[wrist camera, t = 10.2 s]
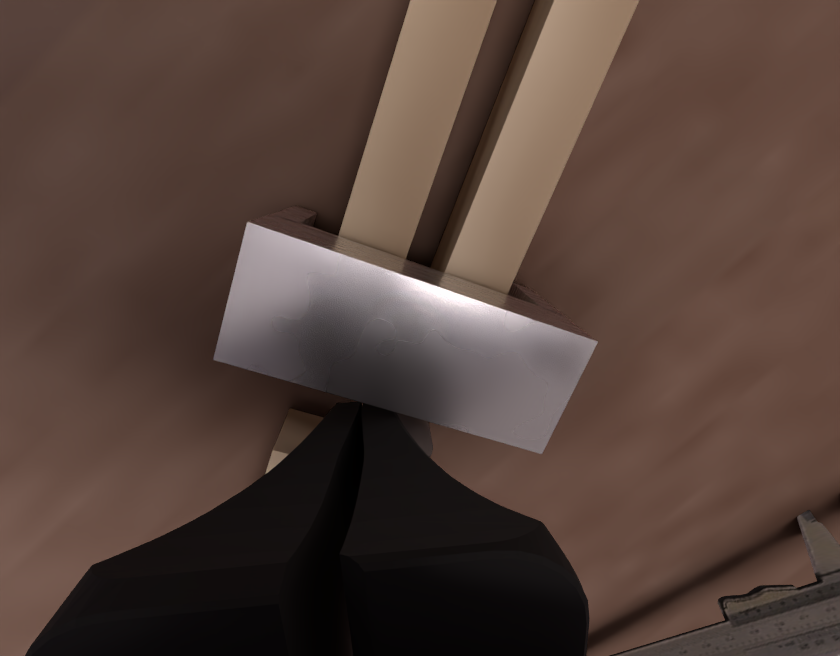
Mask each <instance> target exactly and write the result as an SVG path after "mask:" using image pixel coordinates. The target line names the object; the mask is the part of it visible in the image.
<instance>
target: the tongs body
mask: <svg viewBox="0 0 840 656" xmlns="http://www.w3.org/2000/svg"><path fill="white" fill-rule="evenodd" d="M496 2H497V0H410V4H409V7H408V10H407V13H406V17H405V20H404V23H403V26H402V30H401V33H400V36H399V39H398V43H397V46H396V49H395V53H394V56H393V59H392V62H391V66H390V69H389V72H388V75H387V79H386V82H385V85H384V88H383V92H382V95H381V98H380V101H379V105H378V108H377V111H376V115H375V118H374V121H373V124H372V128H371V131H370V134H369V137H368V141H367V144H366V147H365V150H364V154H363V157H362V160H361V163H360V167H359V170H358V173H357V177H356V180H355V183H354V186H353V190H352V193H351V196H350V199H349V203H348V206H347V209H346V212H345V216H344V219H343V222H342V225H341V229H340V232H339V235H338V236H340V237H343V238H346V239H349V240H351V241H354V242H357V243H360V244H363V245H366V246H369V247H372V248H374V249H377V250H380V251H383V252H386V253H389V254H392V255H394V256H397V257H400V258H403V259H406V257H407V254H408V251H409V248H410V245H411V243H412V240H413V237H414V234H415V231H416V228H417V226H418V223H419V220H420V217H421V214H422V211H423V209H424V206H425V203H426V200H427V197H428V194H429V192H430V189H431V186H432V183H433V180H434V177H435V175H436V172H437V169H438V166H439V163H440V160H441V158H442V155H443V152H444V149H445V146H446V143H447V141H448V138H449V135H450V132H451V129H452V126H453V124H454V121H455V118H456V115H457V112H458V109H459V107H460V104H461V101H462V98H463V95H464V92H465V90H466V87H467V84H468V81H469V78H470V75H471V73H472V70H473V67H474V64H475V61H476V58H477V56H478V53H479V50H480V47H481V44H482V41H483V39H484V36H485V33H486V30H487V27H488V24H489V22H490V19H491V16H492V13H493V10H494V7H495V5H496ZM322 419H323V417H320V416H316V415H312V414H309V413H305V412H302V411H298V410H294V409H291V408H290V409H289V411H288V414H287V416H286V419H285V421H284V424H283V426H282V429H281V431H280V433H279V436H278V438H277V441H276V443H275V446H274V448H273V451H272V454H271V457H270V460H269V464H268V467H267V470H266V473H268V472H269V471H270V470H271V469H273V468H274V467H275V466H276V465H277V464H279V463H280V462H281V461H282V460H283V459H284V458H285V457H286V456H287V455H288V454H290V453H291V452H292V451H293V450H294V449H295V448H296V447H297V446H298V445H299V444H300V443H301V442H302V441H303V440H304V439H305V438H306V437H307V436H308V435H309V434H310V433H311V432H312V431H313V430H314V428H315V427H316V426H317V425H318V424H319V423H320V422H321V421H322ZM266 473H265V474H266Z"/></svg>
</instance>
